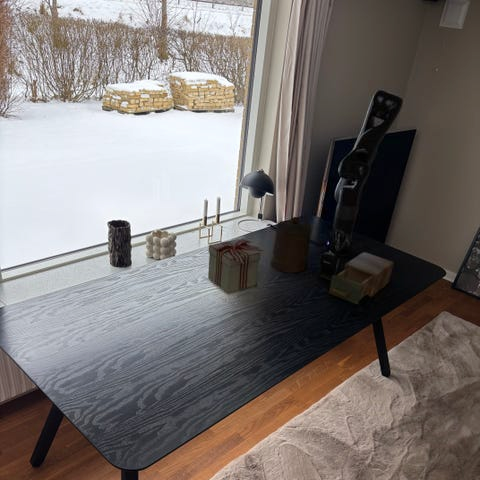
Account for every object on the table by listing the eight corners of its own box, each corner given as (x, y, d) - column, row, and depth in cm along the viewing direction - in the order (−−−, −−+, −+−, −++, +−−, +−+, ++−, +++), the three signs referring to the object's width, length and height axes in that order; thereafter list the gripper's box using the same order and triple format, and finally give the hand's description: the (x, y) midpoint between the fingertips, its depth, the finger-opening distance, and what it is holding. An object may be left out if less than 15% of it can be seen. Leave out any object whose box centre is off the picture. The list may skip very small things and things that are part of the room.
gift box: (234, 298, 185) (237, 257, 176) (205, 279, 196) (206, 240, 187) (266, 286, 195) (270, 247, 186) (236, 269, 206) (239, 231, 197)
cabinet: (371, 296, 193) (376, 275, 188) (341, 285, 200) (345, 263, 195) (388, 282, 205) (394, 262, 199) (359, 272, 211) (363, 251, 206)
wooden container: (311, 264, 215) (318, 217, 204) (296, 276, 204) (303, 227, 193) (281, 255, 222) (287, 209, 210) (265, 266, 211) (270, 218, 199)
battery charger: (316, 278, 204) (320, 253, 198) (321, 275, 207) (325, 250, 201) (330, 283, 200) (335, 258, 194) (335, 281, 203) (340, 256, 197)
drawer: (350, 310, 181) (354, 292, 177) (321, 298, 187) (324, 280, 183) (375, 290, 196) (379, 273, 191) (347, 280, 202) (350, 263, 198)
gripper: (363, 221, 173) (354, 265, 183) (346, 208, 184) (338, 250, 193) (344, 222, 171) (336, 266, 181) (328, 209, 182) (321, 251, 191)
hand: (337, 258), depth 187 cm, fingers closed
